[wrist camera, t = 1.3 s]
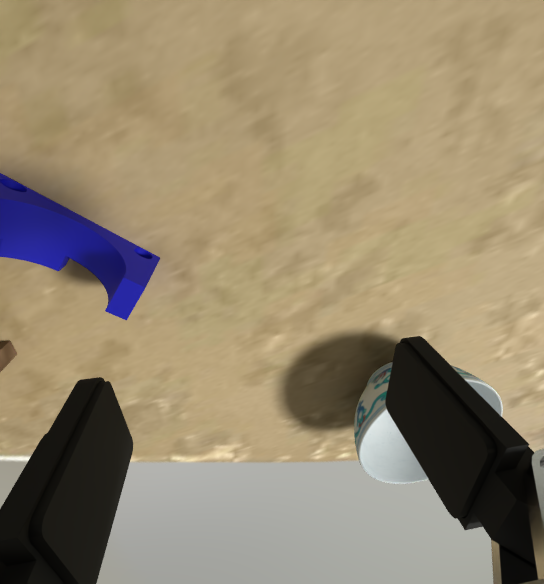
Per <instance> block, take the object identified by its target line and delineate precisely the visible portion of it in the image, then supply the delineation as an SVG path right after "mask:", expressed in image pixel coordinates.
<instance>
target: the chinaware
mask: <svg viewBox="0 0 544 584" xmlns="http://www.w3.org/2000/svg"><path fill="white" fill-rule="evenodd" d="M392 363H393V362H391V363H388V364H386V365H384V366H382V367H380V368H379V369H378V370H376V371H375V372H374V373H373V374H372V376H371V377H370V379H369V380H368V383H367V387H366V388H365V390H364V392H363V393H362V395H361V397H360V400H359V402H358V405H357V409H356V413H355V420H354V436H355V444H356V450H357V454H358V458H359V461H360V464H361V466H362V468H363V469H364V471H365V472H366V473H367V474H368V475H370V476H371V477H373V478H374V479H377V480H379V481H382V482H386V483H392V484H408V483H416V482H421V481H425V480H429V479H428V477H427V476H426V474H425V472H424V471H423V469H422V467H421V466H420V464H419V462H418V461H417V459H416V457H415V456H414V454H413V452H412V451H411V449H410V447H409V446H408V444H407V443H406V441H405V439H404V438H403V436H402V434H401V433H400V431H399V429H398V428H397V426H396V424H395V423H394V421H393V419H392V418H391V416H390V414H389V413H388V411H387V408H386V405H385V399H386V394H387V389H388V384H389V379H390V374H391V368H392ZM452 367H453V368H454V369H455V370H456V371H457V372H458V373H459V374H460V375H461V376H462V377H463V378H464V379H465V380H466V381H467V382H468V383H469V384H470V385H471V386H472V387H473V388H474V389H475V390H476V391H477V392H478V393H479V394H480V395H481V396H482V397H483V398H484V399H485V400H486V401H487V402H488V403H489V404H490V405H491V406H492V407H493V408H494V410H495V411H496V412H497V413H498V414H499V415H500V416H501V417H502V412H503V407H502V401H501V399H500V396H499V395H498V393H497V392H496V391H495V390H494V389H493V388H492V387H491V386H489V385H488V384H487V383H485V382H484V381H482V380H480V379H479V378H477V377H475V376H474V375H472V374H470V373H468V372H466V371H464V370H461V369H459V368H457V367H454V366H452Z"/></svg>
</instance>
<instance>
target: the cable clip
mask: <svg viewBox="0 0 544 584" xmlns="http://www.w3.org/2000/svg"><path fill="white" fill-rule="evenodd" d="M0 257H8V258H15V259H20V260H25V261H29V262H33V263H37V264H40V265H43V266H46V267H49V268H52V269H54V270H56V271H59V270H61V269H62V268H63V267H64V266H65V265H66V264H67V262H68V260H69V258H71V259H72V260H74V261H76V262H78V263H79V264H81V265H82V266H84V267H85V268H87V269H88V270H89V271H91V272H92V273H93V274H94V275H95V276H96V277H97V278H98V279H99V280H100V281H101V283H102V284H103V285H104V287H105V289H106V291H107V294H108V306H107V308H106V310H105V311H106V312H108V313H111V314H113V315H115V316H118V317H120V318H122V319H125V320H127V319H128V317H129V315H130V313H131V312H132V310H133V308H134V306H135V305H136V303H137V301H138V300H139V298H140V296H141V294H142V293H143V291H144V289H145V287H146V285H147V283H148V282H149V280H150V278H151V276H152V274H153V272H154V270H155V268H156V266H157V264H158V262H159V260H160V257H158V256H156V255H154V254H152V253H150V252H148V251H146V250H144V249H143V248H141V247H139V246H137V245H135V244H133V243H131V242H129V241H128V240H126V239H124V238H122V237H120V236H118V235H116V234H114V233H112V232H111V231H109V230H107V229H105V228H103V227H101V226H99V225H97V224H95V223H94V222H92V221H90V220H88V219H86V218H84V217H82V216H80V215H78V214H77V213H75V212H73V211H71V210H69V209H67V208H65V207H63V206H61V205H60V204H58V203H56V202H54V201H52V200H50V199H48V198H46V197H44V196H43V195H41V194H39V193H37V192H35V191H33V190H31V189H29V188H27V187H26V186H24V185H22V184H20V183H18V182H16V181H14V180H12V179H11V178H9V177H7V176H5V175H3V174H1V173H0Z"/></svg>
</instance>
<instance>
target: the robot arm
mask: <svg viewBox="0 0 544 584" xmlns="http://www.w3.org/2000/svg"><path fill="white" fill-rule="evenodd" d="M385 405H386V408H387V411H388V413H389V414H390V416H391V418H392V419H393V421H394V423H395V424H396V426H397V428H398V429H399V431H400V433H401V434H402V436H403V438H404V439H405V441H406V443H407V444H408V446H409V447H410V449H411V451H412V452H413V454H414V456H415V457H416V459H417V461H418V462H419V464H420V466H421V467H422V469H423V471H424V472H425V474H426V476H427V477H428V479H429V480H430V482H431V484H432V485H433V487H434V489H435V490H436V492H437V494H438V495H439V497H440V498H441V500H442V502H443V504H444V505H445V507H446V509H447V510H448V512H449V513H450V514H451V515H452V516H453V517H454V518H458V520H459V521H460V523H461V524H462V526H463V527H464V529H465V530H468V529H473V528H478V527H484V529H485V530H486V532H487V533H488V535H489V536H490V538H491V546H492V562H493V563H492V565H493V583H494V584H544V449H541V450H538V451H536V452H535V453H534V452H533V451H532V450H531V449H530V448H529V447H528V445H529V444H528V443H527V442H526V441H525V440H524V439H523V438H522V437H521V436H520V435H519V434H518V433H517V432H516V431H515V430H514V429H513V428H512V427H511V426H510V425H509V424H508V423H507V422H506V421H505V420H504V419H503V418H502V417H501V416H500V415H499V414H498V413H497V412H496V411H495V410H494V408H493V407H492V406H491V405H490V404H489V403H488V402H487V401H486V400H485V399H484V398H483V397H482V396H481V395H480V394H479V393H478V392H477V391H476V390H475V389H474V388H473V387H472V386H471V385H470V384H469V383H468V382H467V381H466V380H465V379H464V378H463V377H462V376H461V375H460V374H459V373H458V372H457V371H456V370H455V369H454V368H453V367H452V366H451V365H450V364H449V363H448V362H447V361H446V360H445V359H444V358H443V357H442V356H441V355H440V354H439V353H438V352H437V351H436V350H435V349H434V348H433V347H432V346H431V345H430V344H429V343H428V342H427V341H426V340H425V339H424V338H422V337H420V336H417V337H409V338H403V339H401V341H400V343H398V344H397V345H396V348H395V353H394V358H393V363H392V368H391V374H390V379H389V384H388V389H387V394H386V399H385ZM132 451H133V440H132V437H131V434H130V432H129V429H128V427H127V424H126V421H125V419H124V416H123V414H122V411H121V409H120V406H119V403H118V401H117V398H116V396H115V393H114V390H113V388H112V385H111V383H110V382H109V381H107V382H105V381H104V379H103V378H101V377H99V378H91V379H83V380H79V381H78V382H77V383H76V385H75V387H74V388H73V390H72V392H71V394H70V395H69V397H68V399H67V401H66V402H65V404H64V406H63V408H62V409H61V411H60V413H59V414H58V416H57V418H56V420H55V421H54V423H53V425H52V427H51V428H50V430H49V432H48V433H47V434H45V435H44V437H43V438H42V439H41V441H40V442H39V444H38V446H37V447H36V449H35V451H34V452H33V454H32V456H31V458H30V459H29V461H28V463H27V464H26V466H25V468H24V470H23V471H22V473H21V475H20V477H19V478H18V480H17V482H16V483H15V485H14V487H13V488H12V490H11V492H10V493H9V495H8V497H7V499H6V500H5V502H4V504H3V505H2V507H1V509H0V584H96V583H97V579H98V575H99V571H100V568H101V564H102V560H103V557H104V553H105V550H106V546H107V543H108V539H109V535H110V532H111V528H112V524H113V521H114V517H115V513H116V510H117V506H118V503H119V499H120V495H121V492H122V488H123V484H124V481H125V477H126V473H127V470H128V466H129V463H130V459H131V455H132Z"/></svg>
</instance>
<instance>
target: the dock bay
mask: <svg viewBox="0 0 544 584" xmlns="http://www.w3.org/2000/svg"><path fill="white" fill-rule="evenodd" d="M16 355H17V352H16V351H15V349H14V347H13V345H12V343H11V341H3V342H0V372H1V371H2V370H3V369H4V368H5V367H6V366H7V365H8V363H9V362H10V361H11V360H12V359H13V358H14V357H15V356H16Z"/></svg>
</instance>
